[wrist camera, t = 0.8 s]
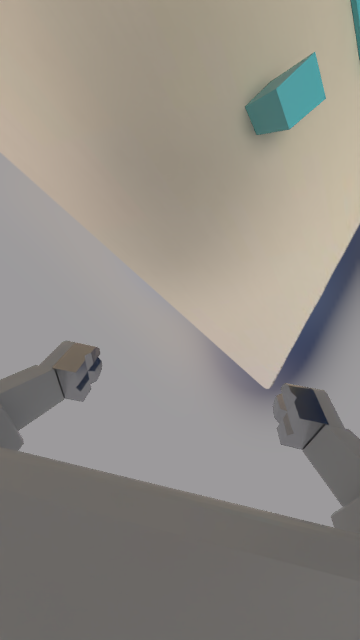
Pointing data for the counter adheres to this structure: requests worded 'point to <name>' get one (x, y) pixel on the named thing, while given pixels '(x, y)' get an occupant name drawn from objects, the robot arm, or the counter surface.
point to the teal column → (287, 98)
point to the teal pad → (356, 20)
